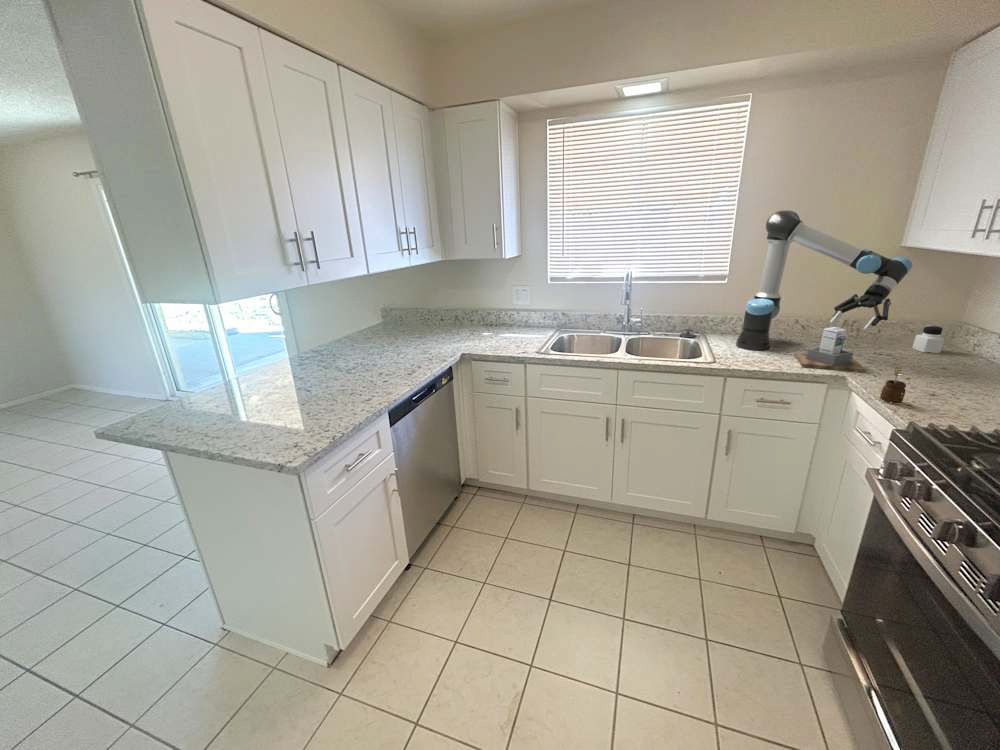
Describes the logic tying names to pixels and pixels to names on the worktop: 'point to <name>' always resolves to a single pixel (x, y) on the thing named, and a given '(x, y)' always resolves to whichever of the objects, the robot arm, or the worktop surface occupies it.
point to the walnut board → (810, 363)
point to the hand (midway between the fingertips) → (847, 327)
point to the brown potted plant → (894, 389)
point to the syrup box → (833, 340)
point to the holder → (829, 357)
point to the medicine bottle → (929, 340)
